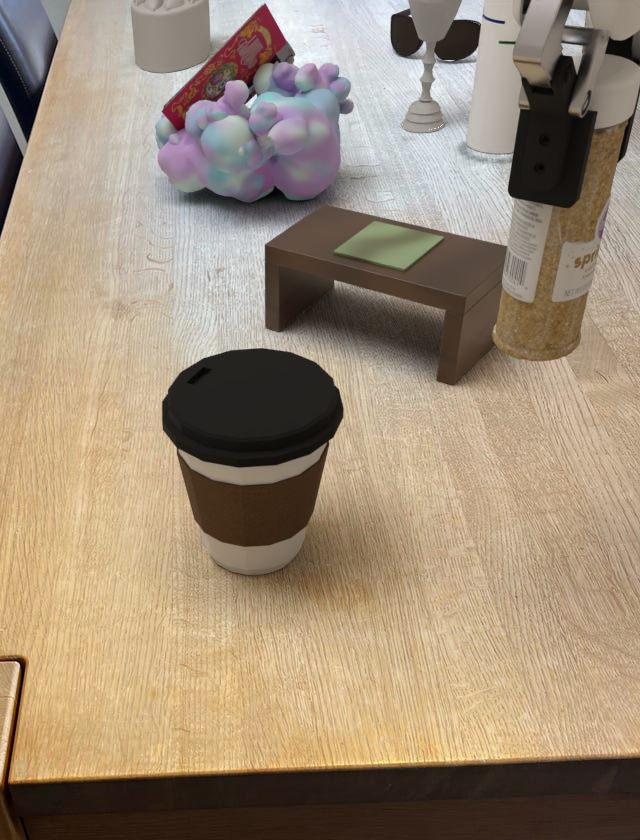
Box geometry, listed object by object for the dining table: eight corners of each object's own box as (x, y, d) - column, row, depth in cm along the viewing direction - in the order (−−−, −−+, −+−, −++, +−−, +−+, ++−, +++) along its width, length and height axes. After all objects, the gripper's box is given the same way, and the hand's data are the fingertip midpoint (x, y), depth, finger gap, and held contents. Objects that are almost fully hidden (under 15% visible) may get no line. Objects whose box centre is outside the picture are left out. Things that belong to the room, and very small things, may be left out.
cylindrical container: (492, 125, 116) (532, -146, 98) (545, 139, 112) (597, -142, 94) (452, 143, 113) (486, -132, 95) (505, 158, 109) (551, -127, 91)
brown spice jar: (584, 365, 52) (653, 81, 42) (492, 365, 52) (539, 86, 43) (573, 320, 55) (634, 45, 45) (486, 321, 56) (528, 51, 46)
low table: (504, 335, 84) (520, 245, 78) (453, 385, 79) (466, 294, 74) (320, 285, 93) (323, 201, 87) (264, 327, 88) (264, 241, 82)
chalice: (380, 122, 119) (393, -58, 107) (426, 109, 121) (444, -70, 108) (418, 140, 115) (436, -46, 102) (466, 126, 116) (490, -59, 104)
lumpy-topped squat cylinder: (215, 42, 146) (213, -28, 140) (199, 71, 138) (196, -1, 132) (146, 44, 149) (140, -25, 142) (126, 73, 140) (119, 2, 134)
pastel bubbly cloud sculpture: (286, 203, 94) (340, -11, 89) (94, 165, 102) (131, -34, 96) (348, 236, 112) (396, 59, 106) (180, 201, 120) (216, 35, 114)
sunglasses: (377, 55, 137) (380, 13, 133) (431, 23, 145) (435, -18, 141) (471, 67, 130) (477, 24, 127) (522, 32, 138) (528, -10, 135)
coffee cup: (141, 567, 67) (122, 413, 59) (226, 479, 73) (220, 328, 65) (285, 623, 62) (288, 465, 54) (363, 524, 68) (376, 368, 60)
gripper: (701, -344, 28) (570, 272, 41) (860, -396, 37) (709, 128, 50) (456, -327, 32) (406, 234, 45) (652, -378, 40) (563, 107, 54)
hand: (567, 174), depth 47 cm, fingers closed on brown spice jar, 4 cm apart
